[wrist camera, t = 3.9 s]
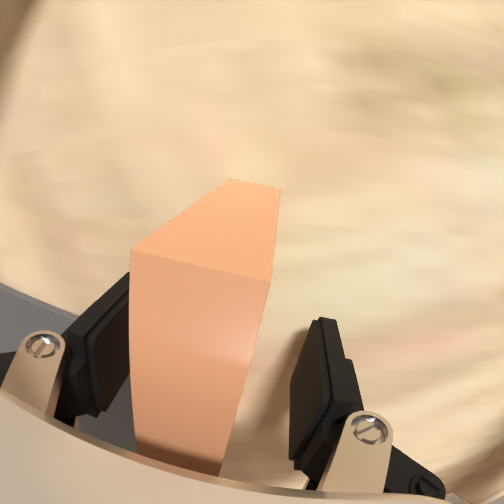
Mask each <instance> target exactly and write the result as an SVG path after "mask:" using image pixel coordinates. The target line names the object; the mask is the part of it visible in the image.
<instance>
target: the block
mask: <svg viewBox="0 0 504 504" xmlns="http://www.w3.org/2000/svg"><path fill="white" fill-rule="evenodd" d="M279 199H280V189H277V188H273V187H268V186H264V185H259V184H255V183H250V182H245V181H240V180H235V179H229V180H228V181H226V182H225V183H223V184H222V185H220V186H219V187H217V188H216V189H215V190H213V191H212V192H210V193H209V194H207V195H206V196H204V197H203V198H201V199H200V200H198V201H197V202H195V203H194V204H193V205H191V206H190V207H188V208H187V209H185V210H184V211H183V212H181V213H180V214H178V215H177V216H176V217H174V218H173V219H171V220H170V221H169V222H167V223H166V224H164V225H163V226H162V227H160V228H159V229H157V230H156V231H155V232H153V233H152V234H151V235H149V236H148V237H147V238H145V239H144V240H143V241H141V242H140V243H139V244H137V245H136V246H135V247H133V248H132V249H131V260H130V283H129V355H130V378H131V395H132V408H133V419H134V429H135V439H136V447H137V454H139V455H142V456H144V457H147V458H150V459H153V460H157V461H160V462H163V463H166V464H170V465H173V466H177V467H180V468H184V469H187V470H191V471H195V472H199V473H203V474H207V475H212V476H216V477H218V475H219V471H220V468H221V465H222V461H223V458H224V454H225V451H226V447H227V444H228V440H229V437H230V433H231V430H232V426H233V423H234V419H235V416H236V412H237V408H238V405H239V401H240V398H241V394H242V390H243V387H244V383H245V379H246V376H247V372H248V368H249V364H250V361H251V357H252V353H253V349H254V346H255V342H256V338H257V334H258V330H259V327H260V323H261V319H262V315H263V311H264V307H265V303H266V299H267V295H268V291H269V287H270V283H271V276H272V267H273V258H274V248H275V239H276V229H277V219H278V209H279Z"/></svg>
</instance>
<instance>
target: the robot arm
mask: <svg viewBox="0 0 504 504" xmlns="http://www.w3.org/2000/svg"><path fill="white" fill-rule="evenodd" d="M129 283H130V272H128V273H126V274H125V275H124V276H123V277H122V278H121V279H120V280H119V281H118V282H116V283H115V284H114V285H113V286H112V287H111V288H110V289H109V290H108V291H107V292H106V293H105V294H103V295H102V296H101V297H100V298H99V299H98V300H97V301H95V302H94V303H93V304H92V305H91V306H90V307H89V308H88V309H87V310H86V311H85V312H84V313H83V314H82V315H81V316H79V317H78V318H77V319H76V320H75V321H74V322H73V323H72V324H71V325H70V326H69V327H68V328H67V329H66V330H65V331H64V332H63V333H62V334H61V335H58V334H57V333H55V332H51V331H36V332H33V333H31V334H29V335H28V336H26V337H25V338H24V339H23V341H22V342H21V344H20V346H19V348H18V350H17V351H14V352H6V353H0V504H472V503H470V502H468V501H466V500H464V499H463V498H461V497H459V496H457V495H456V494H454V493H452V492H451V493H450V494H448V495H447V494H446V490H445V487H444V484H443V483H442V481H441V480H440V479H439V478H438V477H437V476H436V475H434V474H433V473H431V472H430V471H428V470H427V469H426V468H424V467H423V466H421V465H420V464H418V463H417V462H415V461H414V460H412V459H411V458H410V457H408V456H407V455H405V454H404V453H402V452H401V451H400V450H398V449H397V448H395V447H394V446H393V445H392V441H393V430H392V428H391V425H390V424H389V423H388V421H387V420H386V419H384V418H383V417H382V416H380V415H378V414H376V413H374V412H370V411H364V408H363V403H362V399H361V395H360V390H359V386H358V382H357V378H356V374H355V370H354V366H353V362H352V360H350V359H346V358H345V355H344V351H343V347H342V342H341V338H340V334H339V330H338V326H337V322H336V320H334V319H329V318H324V317H319V319H318V320H313V321H312V323H311V326H310V329H309V332H308V334H307V337H306V340H305V343H304V346H303V348H302V351H301V354H300V357H299V359H298V362H297V365H296V367H295V370H294V373H293V375H292V378H291V383H290V424H289V460H293V461H294V470H301V471H302V472H303V473H304V474H305V475H306V476H307V477H308V478H307V481H306V483H305V485H304V487H303V489H302V490H300V489H290V488H281V487H273V486H266V485H259V484H253V483H247V482H241V481H236V480H231V479H226V478H221V477H216V476H212V475H207V474H203V473H199V472H195V471H191V470H187V469H184V468H180V467H177V466H173V465H170V464H166V463H163V462H160V461H157V460H153V459H150V458H147V457H144V456H142V455H139V454H136V453H133V452H130V451H128V450H125V449H122V448H120V447H117V446H114V445H112V444H109V443H107V442H104V441H102V440H100V439H97V438H95V437H93V436H90V435H88V434H86V433H84V432H81V431H79V423H80V416H81V415H85V414H88V415H90V416H92V417H95V418H97V417H98V416H99V414H100V412H101V411H103V412H106V411H107V409H108V408H109V406H110V404H111V403H112V401H113V400H114V398H115V396H116V395H117V393H118V391H119V390H120V388H121V386H122V385H123V383H124V382H125V380H126V378H127V377H128V375H129V374H130V355H129Z"/></svg>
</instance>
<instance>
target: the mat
mask: <svg viewBox="0 0 504 504" xmlns="http://www.w3.org/2000/svg"><path fill="white" fill-rule="evenodd" d="M78 317H79V316H77V315H74V314H72V313H69V312H67V311H64V310H62V309H59V308H56V307H54V306H52V305H49V304H47V303H44V302H42V301H39V300H37V299H35V298H32V297H30V296H28V295H26V294H23V293H21V292H19V291H17V290H14V289H12V288H10V287H8V286H6V285H4V284H1V283H0V353H6V352H14V351H17V350H18V348H19V346H20V344H21V342H22V341H23V339H24V338H25V337H26V336H28V335H29V334H31V333H33V332H36V331H51V332H55V333H57V334H58V335H61V334H62V333H63V332H64V331H65V330H66V329H67V328H68V327H69V326H70V325H71V324H72V323H73V322H74V321H75V320H76V319H77V318H78ZM79 431H81V432H84V433H86V434H88V435H90V436H93V437H95V438H97V439H100V440H102V441H104V442H107V443H109V444H112V445H114V446H117V447H120V448H122V449H125V450H128V451H130V452H133V453H136V454H137V447H136V439H135V429H134V419H133V408H132V395H131V378H130V374H129V375H128V377H127V378H126V380H125V382H124V383H123V385H122V386H121V388H120V390H119V391H118V393H117V395H116V396H115V398H114V400H113V401H112V403H111V404H110V406H109V408H108V409H107V411H106V412H103V411H101V412H100V414H99V416H98V417H97V418H95V417H92V416H90V415H88V414H85V415H81V416H80V423H79Z"/></svg>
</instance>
